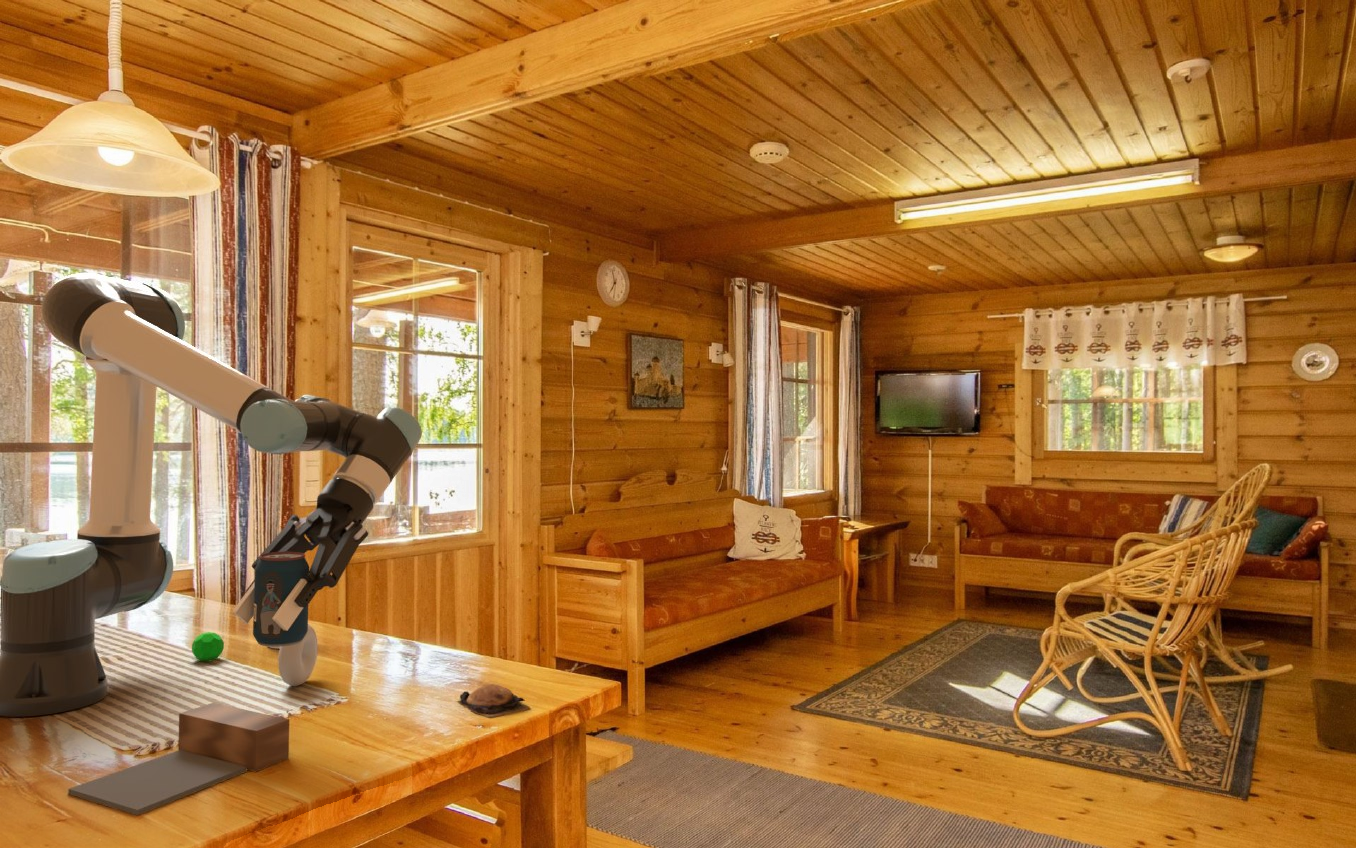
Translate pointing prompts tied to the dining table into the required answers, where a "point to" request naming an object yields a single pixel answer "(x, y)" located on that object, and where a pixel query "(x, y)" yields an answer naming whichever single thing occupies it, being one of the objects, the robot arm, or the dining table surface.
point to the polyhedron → (207, 646)
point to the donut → (298, 659)
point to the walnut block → (234, 735)
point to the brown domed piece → (492, 701)
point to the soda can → (278, 597)
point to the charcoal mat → (157, 781)
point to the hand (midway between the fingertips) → (259, 620)
